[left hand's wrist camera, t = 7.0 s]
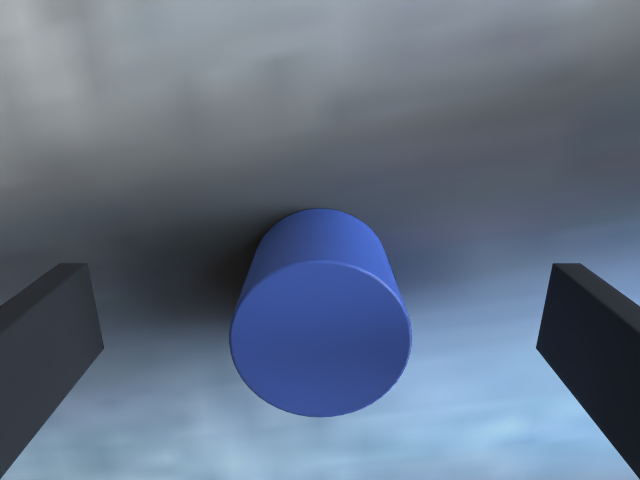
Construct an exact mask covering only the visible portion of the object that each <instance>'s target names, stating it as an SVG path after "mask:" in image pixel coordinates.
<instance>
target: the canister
mask: <svg viewBox="0 0 640 480" xmlns="http://www.w3.org/2000/svg"><path fill="white" fill-rule="evenodd" d="M411 345H412V331H411V324H410V320H409V317H408V313H407V311H406V308H405V305H404V303H403V300H402V297H401V294H400V292H399V289H398V286H397V284H396V281H395V278H394V275H393V273H392V270H391V267H390V265H389V262H388V259H387V257H386V254H385V251H384V249H383V247H382V244H381V242H380V241H379V239H378V238H377V236H376V235H375V234H374V232H373V231H372V230H371V229H370V228H369V227H368V226H367V225H365V224H364V223H363V222H361V221H360V220H358V219H357V218H355V217H353V216H351V215H349V214H347V213H344V212H341V211H336V210H331V209H309V210H304V211H300V212H297V213H294V214H292V215H290V216H287V217H285V218H284V219H282V220H281V221H279V222H278V223H276V224H275V225H274V226H273V227H272V228H271V229H270V230H269V231H268V232H267V233H266V234H265V236H264V237H263V239H262V240H261V242H260V244H259V246H258V248H257V250H256V253H255V255H254V258H253V261H252V264H251V266H250V269H249V272H248V275H247V277H246V280H245V283H244V286H243V288H242V291H241V294H240V297H239V299H238V302H237V305H236V308H235V310H234V313H233V317H232V320H231V323H230V330H229V346H230V352H231V356H232V359H233V362H234V365H235V367H236V369H237V371H238V373H239V375H240V376H241V378H242V379H243V381H244V382H245V383H246V384H247V386H248V387H249V388H250V389H251V390H252V391H253V392H254V393H255V394H256V395H258V396H259V397H260V398H261V399H263V400H264V401H266V402H267V403H269V404H271V405H273V406H275V407H277V408H279V409H281V410H284V411H286V412H290V413H293V414H297V415H302V416H308V417H332V416H339V415H344V414H348V413H351V412H354V411H357V410H359V409H362V408H364V407H366V406H368V405H370V404H372V403H373V402H375V401H376V400H378V399H379V398H381V397H382V396H383V395H384V394H385V393H387V392H388V391H389V390H390V389H391V388H392V387H393V385H394V384H395V383H396V382H397V380H398V379H399V377H400V376H401V374H402V373H403V371H404V369H405V367H406V364H407V362H408V359H409V355H410V351H411Z"/></svg>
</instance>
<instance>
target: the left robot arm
mask: <svg viewBox="0 0 640 480" xmlns="http://www.w3.org/2000/svg"><path fill="white" fill-rule="evenodd" d="M103 349H104V345H103V340H102V335H101V330H100V325H99V320H98V315H97V310H96V305H95V300H94V295H93V290H92V285H91V280H90V275H89V270H88V265H87V263H60V264H58V265H57V266H55V267H54V268H53V269H51V270H50V271H49V272H47V273H46V274H44V275H43V276H42V277H40V278H39V279H37V280H36V281H35V282H33V283H32V284H31V285H29V286H28V287H26V288H25V289H24V290H22V291H21V292H20V293H18V294H17V295H15V296H14V297H13V298H11V299H10V300H8V301H7V302H6V303H4V304H3V305H2V306H0V479H1V478H2V476H3V475H4V474H5V473H6V471H7V470H8V469H9V467H10V466H11V465H12V464H13V462H14V461H15V460H16V459H17V457H18V456H19V455H20V454H21V452H22V451H23V450H24V449H25V447H26V446H27V445H28V443H29V442H30V441H31V440H32V438H33V437H34V436H35V435H36V433H37V432H38V431H39V430H40V428H41V427H42V426H43V425H44V423H45V422H46V421H47V419H48V418H49V417H50V416H51V414H52V413H53V412H54V411H55V409H56V408H57V407H58V406H59V404H60V403H61V402H62V400H63V399H64V398H65V397H66V395H67V394H68V393H69V392H70V390H71V389H72V388H73V387H74V385H75V384H76V383H77V382H78V380H79V379H80V378H81V376H82V375H83V374H84V373H85V371H86V370H87V369H88V368H89V366H90V365H91V364H92V363H93V361H94V360H95V359H96V358H97V356H98V355H99V354H100V352H101V351H102V350H103ZM536 349H537V350H538V351H539V352H540V354H541V355H542V356H543V357H544V359H545V360H546V361H547V363H548V364H549V365H550V366H551V368H552V369H553V370H554V371H555V373H556V374H557V375H558V376H559V378H560V379H561V380H562V382H563V383H564V384H565V385H566V387H567V388H568V389H569V390H570V392H571V393H572V394H573V395H574V397H575V398H576V399H577V400H578V402H579V403H580V404H581V406H582V407H583V408H584V409H585V411H586V412H587V413H588V414H589V416H590V417H591V418H592V419H593V421H594V422H595V423H596V424H597V426H598V427H599V428H600V430H601V431H602V432H603V433H604V435H605V436H606V437H607V438H608V440H609V441H610V442H611V443H612V445H613V446H614V447H615V449H616V450H617V451H618V452H619V454H620V455H621V456H622V457H623V459H624V460H625V461H626V462H627V464H628V465H629V466H630V467H631V469H632V470H633V471H634V473H635V474H636V475H637V476H638V478H639V479H640V306H638V305H637V304H636V303H634V302H633V301H632V300H630V299H629V298H627V297H626V296H625V295H623V294H622V293H620V292H619V291H618V290H616V289H615V288H614V287H612V286H611V285H609V284H608V283H607V282H605V281H604V280H603V279H601V278H600V277H598V276H597V275H596V274H594V273H593V272H591V271H590V270H589V269H587V268H586V267H585V266H583V265H582V264H580V263H553V265H552V270H551V275H550V280H549V285H548V290H547V295H546V300H545V305H544V310H543V315H542V320H541V325H540V330H539V335H538V341H537V346H536Z"/></svg>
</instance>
